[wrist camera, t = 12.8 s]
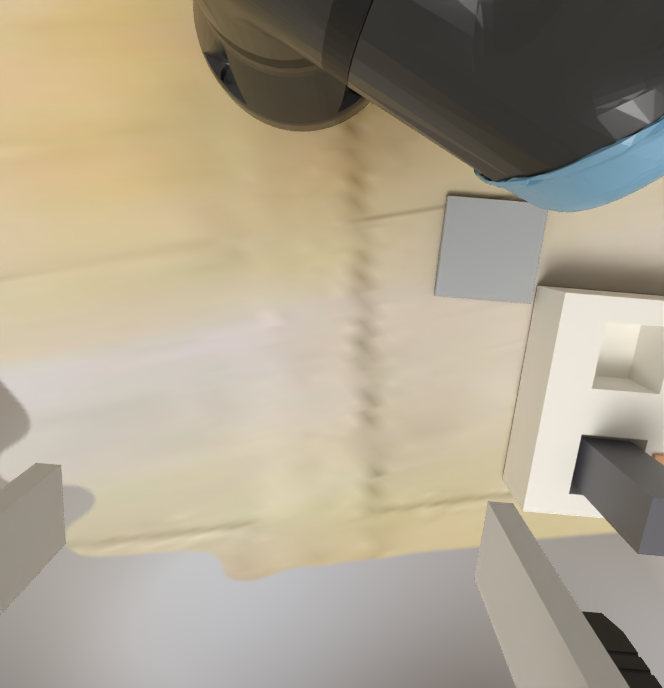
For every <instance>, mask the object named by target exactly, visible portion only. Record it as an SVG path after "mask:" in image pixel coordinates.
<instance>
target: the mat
mask: <svg viewBox="0 0 664 688" xmlns="http://www.w3.org/2000/svg"><path fill="white" fill-rule="evenodd" d="M547 213H548V210H544V209H541V208H538V207H536V206H534V205H532V204H530V203H529V202H520V201H508V200H495V199H483V198H471V197H459V196H447V198H446V206H445V214H444V221H443V229H442V237H441V245H440V252H439V260H438V268H437V275H436V283H435V291H434V295H435V296H443V297H455V298H467V299H479V300H491V301H503V302H515V303H527V304H531V302H532V297H533V291H534V286H535V280H536V274H537V269H538V263H539V258H540V252H541V247H542V241H543V235H544V230H545V224H546V219H547Z"/></svg>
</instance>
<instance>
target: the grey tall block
mask: <svg viewBox="0 0 664 688" xmlns="http://www.w3.org/2000/svg"><path fill="white" fill-rule="evenodd" d="M571 482H572V483H573V485H574V486H575V487H576V488H577V489H578V490H579V491H580V492H581V493H582V494H583V495H584V496H585V497H586V499H587V500H588V501H589V502H590V503H591V504H592V505H593V506H594V507H595V508H596V509H597V510H598V511H599V513H600V514H601V515H602V516H603V517H604V518H605V519H606V520H607V521H608V522H609V523H610V524H611V526H612V527H613V528H614V529H615V530H616V531H617V532H618V533H619V534H620V535H621V536H622V537H623V538H624V539H625V540H626V542H627V543H628V544H629V545H630V546H631V547H632V548H633V549H634V550H635V551H636V552H637V554H645V555H657V556H664V465H663V464H661V463H660V462H658V461H657V460H656V459H654V458H653V457H651V456H650V455H649V454H647V453H646V452H644V451H643V450H642V449H640V448H639V447H637V446H636V445H635V444H633V443H632V442H630V441H622V440H619V439H618V438H616V437H606V436H594V435H582V436H581V440H580V445H579V449H578V454H577V459H576V463H575V468H574V472H573V477H572V481H571Z"/></svg>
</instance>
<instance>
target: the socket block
mask: <svg viewBox="0 0 664 688" xmlns="http://www.w3.org/2000/svg"><path fill="white" fill-rule="evenodd" d="M582 435H594V436H606V437H616V438H618V439H619V440H622V441H630V442H632V443H633V444H635V445H636V446H637V447H639V448H640V449H642V450H643V451H644V452H646V453H647V454H649V455H650V456H651V457H653V458H654V459H656V460H657V461H658V462H660V463H661V464H663V465H664V296H658V295H646V294H634V293H622V292H610V291H597V290H585V289H573V288H561V287H549V286H537V291H536V297H535V303H534V308H533V314H532V319H531V325H530V330H529V336H528V341H527V347H526V352H525V358H524V363H523V369H522V375H521V380H520V386H519V391H518V397H517V402H516V408H515V413H514V419H513V424H512V430H511V435H510V441H509V447H508V452H507V458H506V463H505V469H504V474H503V482H504V483H505V485H506V486H507V488H508V489H509V491H510V492H511V494H512V495H513V497H514V498H515V500H516V501H517V503H518V505H519V506H520V508H521V509H522V511H527V512H539V513H551V514H562V515H574V516H586V517H598V518H604V517H603V516H602V515H601V514H600V513H599V511H598V510H597V509H596V508H595V507H594V506H593V505H592V504H591V503H590V502H589V501H588V500H587V499H586V497H585V496H584V495H583V494H582V493H581V492H580V491H579V490H578V489H577V488H576V487H575V486H574V485H573V483H572V482H571V481H572V477H573V472H574V468H575V463H576V459H577V454H578V449H579V445H580V440H581V436H582Z"/></svg>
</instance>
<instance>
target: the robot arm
mask: <svg viewBox="0 0 664 688" xmlns="http://www.w3.org/2000/svg"><path fill="white" fill-rule="evenodd" d="M193 11H194V21H195V27H196V32H197V36H198V40H199V43H200V46H201V49H202V52H203V54H204V57H205V59H206V61H207V64H208V66H209V67H210V69H211V71H212V73H213V74H214V76H215V78H216V79H217V81H218V82H219V83H220V85H221V86H222V87H223V88H224V90H225V91H226V92H227V93H228V95H229V96H230V97H231V98H232V99H233V100H234V101H235V102H236V104H238V105H239V106H240V107H241V108H242V109H243V110H244V111H246V112H247V113H248V114H250V115H251V116H253V117H254V118H256V119H258V120H260V121H262V122H264V123H266V124H268V125H271V126H273V127H277V128H280V129H284V130H290V131H315V130H321V129H325V128H328V127H332V126H334V125H337V124H339V123H341V122H343V121H345V120H347V119H349V118H351V117H352V116H354V115H355V114H356V113H358V112H359V111H360V110H362V109H363V108H364V107H365V106H366V105H367V104H368V103H369V102H370V101H371V102H372V103H374V104H375V105H377V106H378V107H380V108H381V109H383V110H384V111H386V112H388V113H389V114H391V115H392V116H394V117H395V118H397V119H398V120H400V121H401V122H403V123H404V124H406V125H408V126H409V127H411V128H412V129H414V130H415V131H417V132H418V133H420V134H421V135H423V136H424V137H426V138H428V139H429V140H431V141H432V142H434V143H435V144H437V145H438V146H440V147H441V148H443V149H445V150H446V151H448V152H449V153H451V154H452V155H454V156H455V157H457V158H458V159H460V160H461V161H463V162H465V163H466V164H468V165H469V166H471V167H472V168H474V172H475V174H476V175H477V176H478V177H479V178H480V179H481V180H482V181H484V182H485V183H487V184H490V185H495V186H497V187H501V188H505V189H506V190H508V191H510V192H511V193H513V194H515V195H517V196H518V197H520V198H522V199H523V200H525V201H527V202H529V203H530V204H532V205H534V206H536V207H538V208H541V209H544V210H552V211H557V212H577V211H583V210H588V209H592V208H596V207H599V206H602V205H605V204H608V203H611V202H613V201H616V200H618V199H621V198H623V197H625V196H627V195H629V194H631V193H633V192H635V191H637V190H639V189H641V188H643V187H645V186H647V185H648V184H650V183H652V182H654V181H655V180H657V179H659V178H660V177H662V176H664V0H193ZM65 544H66V541H65V524H64V507H63V491H62V472H61V465H54V464H42V463H36V464H34V465H33V466H32V467H30V468H29V469H28V470H26V471H25V472H23V473H22V474H21V475H19V476H18V477H17V478H15V479H14V480H13V481H11V482H10V483H9V484H7V485H6V486H5V487H3V488H2V489H0V616H1V614H2V613H3V612H4V611H5V610H6V609H7V608H8V607H9V605H10V604H11V603H12V602H13V601H14V600H15V599H16V598H17V597H18V596H19V595H20V593H21V592H22V591H23V590H24V589H25V588H26V587H27V586H28V584H29V583H30V582H31V581H32V580H33V579H34V578H35V577H36V576H37V575H38V574H39V572H40V571H41V570H42V569H43V568H44V567H45V566H46V565H47V564H48V563H49V561H50V560H51V559H52V558H53V557H54V556H55V555H56V554H57V553H58V551H59V550H60V549H61V548H62V547H63V546H64V545H65ZM475 581H476V584H477V587H478V589H479V592H480V594H481V597H482V600H483V602H484V605H485V608H486V610H487V613H488V615H489V618H490V621H491V623H492V626H493V628H494V631H495V633H496V636H497V639H498V641H499V644H500V647H501V649H502V652H503V655H504V657H505V660H506V662H507V665H508V668H509V670H510V673H511V675H512V678H513V680H514V683H515V686H516V688H662V686H661V685H660V684H659V682H658V681H657V679H656V678H655V676H654V675H651V673H650V669H649V668H648V667H647V665H646V664H645V662H644V661H643V659H642V658H641V657H638V652H637V651H636V650H635V648H634V647H633V645H632V644H631V642H630V641H629V640H628V638H627V637H626V635H625V634H624V633H623V631H621V630H620V629H619V628H618V627H617V626H616V625H615V624H613V623H612V622H611V621H610V620H609V619H608V618H606V617H605V616H604V615H603V614H602V613H593V612H582V611H581V610H580V609H579V607H578V605H577V604H576V602H575V600H574V599H573V597H572V596H571V594H570V593H569V591H568V590H567V588H566V586H565V585H564V583H563V582H562V580H561V578H560V577H559V575H558V574H557V572H556V571H555V569H554V568H553V566H552V564H551V563H550V561H549V560H548V558H547V556H546V555H545V553H544V552H543V550H542V548H541V547H540V545H539V544H538V542H537V541H536V539H535V537H534V536H533V534H532V533H531V531H530V530H529V528H528V526H527V525H526V523H525V522H524V520H523V519H522V517H521V515H520V514H519V512H518V511H517V509H516V508H515V506H514V504H513V503H501V502H489V501H488V504H487V509H486V515H485V521H484V527H483V532H482V538H481V544H480V550H479V555H478V561H477V567H476V572H475Z"/></svg>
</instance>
